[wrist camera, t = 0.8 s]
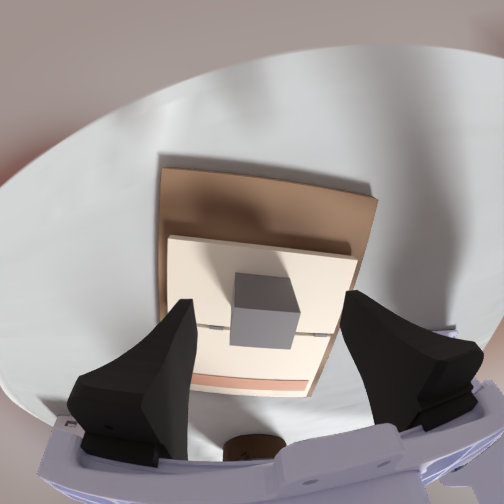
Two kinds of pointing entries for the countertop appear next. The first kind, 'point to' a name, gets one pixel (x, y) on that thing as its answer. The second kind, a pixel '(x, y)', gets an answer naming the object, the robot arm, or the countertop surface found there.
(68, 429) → the charger
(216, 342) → the ticket
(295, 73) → the countertop surface
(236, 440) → the olive oil
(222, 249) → the stub
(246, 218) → the board
